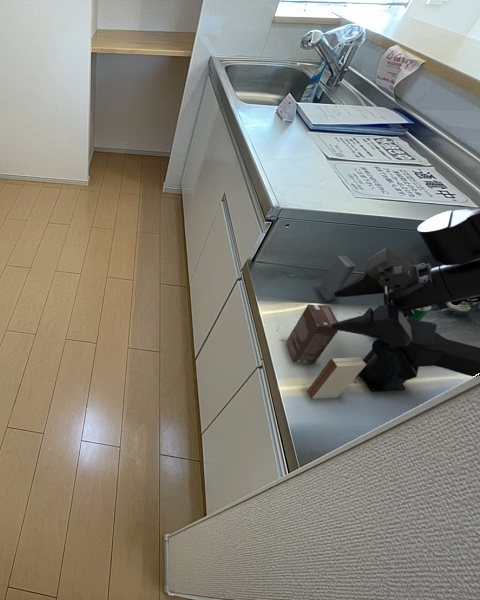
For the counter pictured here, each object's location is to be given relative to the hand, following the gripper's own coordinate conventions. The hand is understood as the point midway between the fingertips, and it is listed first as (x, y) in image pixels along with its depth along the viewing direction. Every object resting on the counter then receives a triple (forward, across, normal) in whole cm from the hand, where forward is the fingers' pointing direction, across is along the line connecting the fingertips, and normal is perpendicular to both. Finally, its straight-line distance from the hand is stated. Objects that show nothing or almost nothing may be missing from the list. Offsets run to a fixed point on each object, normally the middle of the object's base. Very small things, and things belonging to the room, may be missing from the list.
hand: (333, 310), depth 65 cm
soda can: (0, -12, +20) cm, 24 cm away
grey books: (+8, -21, +12) cm, 26 cm away
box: (+11, +1, +9) cm, 14 cm away
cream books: (+7, +10, +12) cm, 17 cm away
